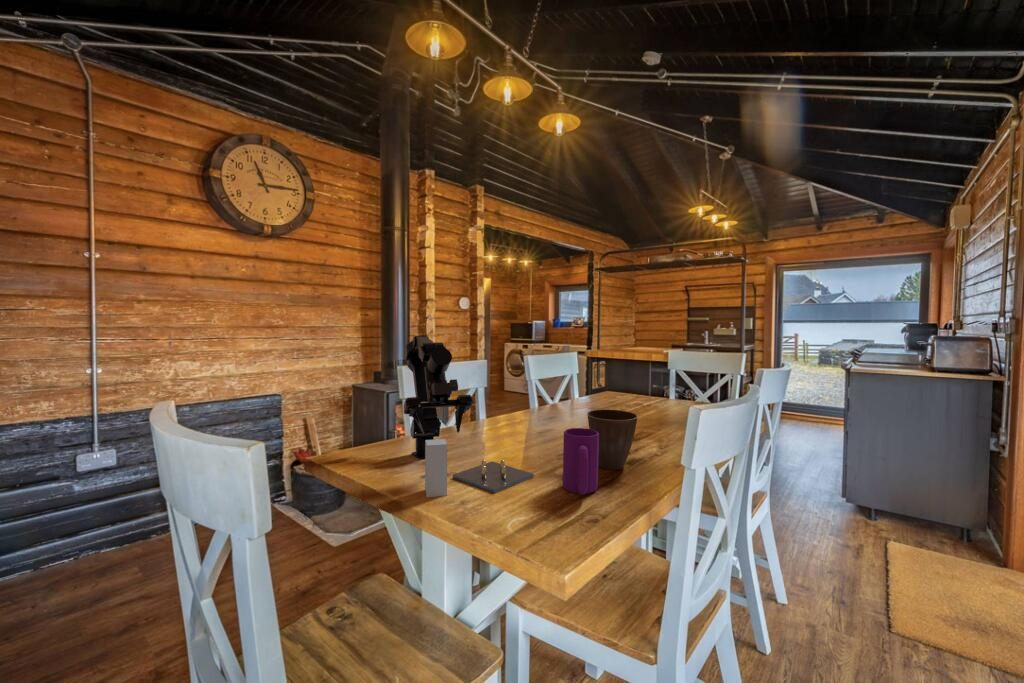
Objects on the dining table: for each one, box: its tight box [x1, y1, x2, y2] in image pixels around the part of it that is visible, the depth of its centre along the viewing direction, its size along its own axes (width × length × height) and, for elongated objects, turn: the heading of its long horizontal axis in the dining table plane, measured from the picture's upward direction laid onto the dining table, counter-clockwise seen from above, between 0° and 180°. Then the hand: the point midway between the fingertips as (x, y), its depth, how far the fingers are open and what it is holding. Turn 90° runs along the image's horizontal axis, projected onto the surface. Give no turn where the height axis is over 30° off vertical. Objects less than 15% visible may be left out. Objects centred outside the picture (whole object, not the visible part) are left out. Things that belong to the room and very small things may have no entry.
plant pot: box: [586, 409, 639, 471], centre depth 133 cm, size 15×15×16 cm
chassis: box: [452, 459, 534, 494], centre depth 122 cm, size 16×16×4 cm
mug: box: [562, 427, 599, 495], centre depth 112 cm, size 9×16×15 cm, turn 176°
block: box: [424, 438, 448, 498], centre depth 110 cm, size 5×5×13 cm
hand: (441, 433), depth 118 cm, fingers open, 9 cm apart
